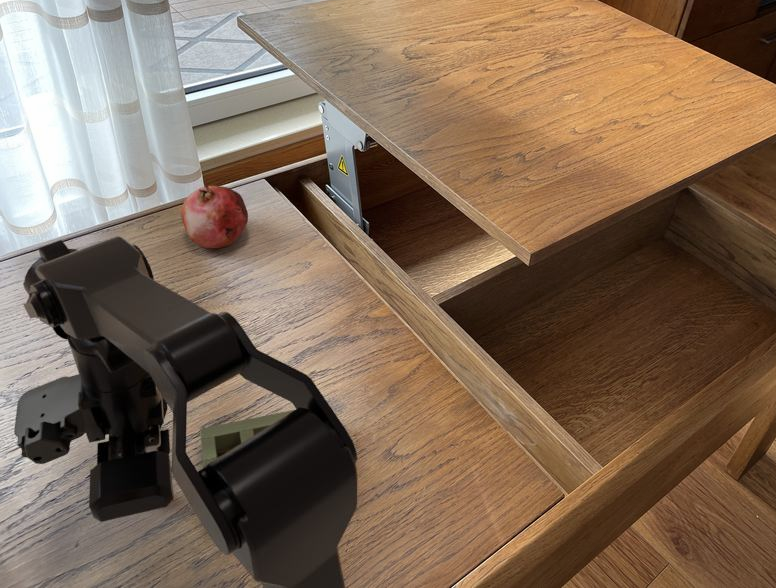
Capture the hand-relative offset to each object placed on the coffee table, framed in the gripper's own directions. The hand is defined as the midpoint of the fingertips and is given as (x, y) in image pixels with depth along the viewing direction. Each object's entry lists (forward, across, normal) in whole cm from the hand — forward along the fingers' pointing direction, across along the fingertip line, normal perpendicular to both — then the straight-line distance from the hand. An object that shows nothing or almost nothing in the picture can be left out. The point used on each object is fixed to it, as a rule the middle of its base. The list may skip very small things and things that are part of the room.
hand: (144, 465), depth 71 cm
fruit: (+6, -40, +10) cm, 42 cm away
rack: (+6, 0, +12) cm, 13 cm away
